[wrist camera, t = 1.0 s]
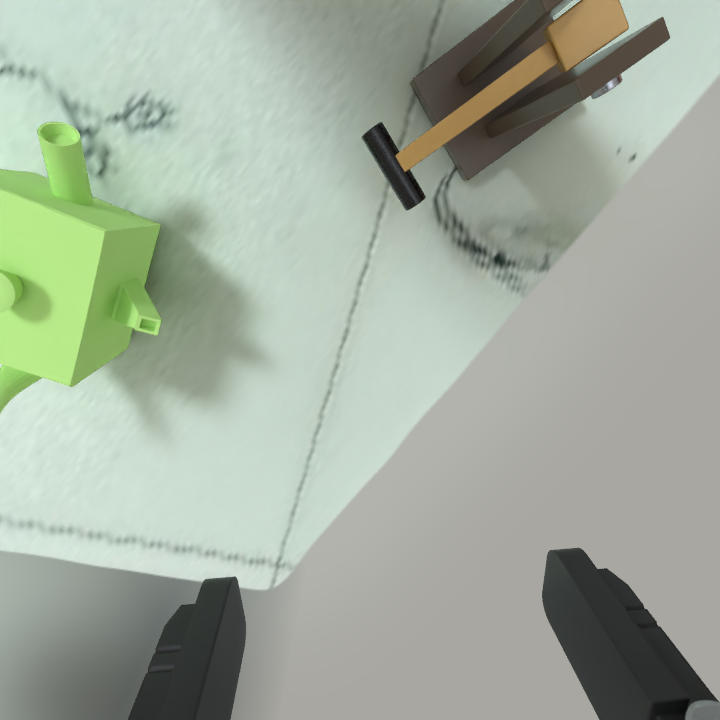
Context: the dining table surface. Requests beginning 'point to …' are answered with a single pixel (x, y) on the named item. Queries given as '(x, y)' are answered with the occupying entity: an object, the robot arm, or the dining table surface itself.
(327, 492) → the dining table surface
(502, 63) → the latch bracket
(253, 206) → the dining table surface
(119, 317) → the green spiked cube
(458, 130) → the latch lever
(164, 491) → the dining table surface
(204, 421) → the dining table surface
